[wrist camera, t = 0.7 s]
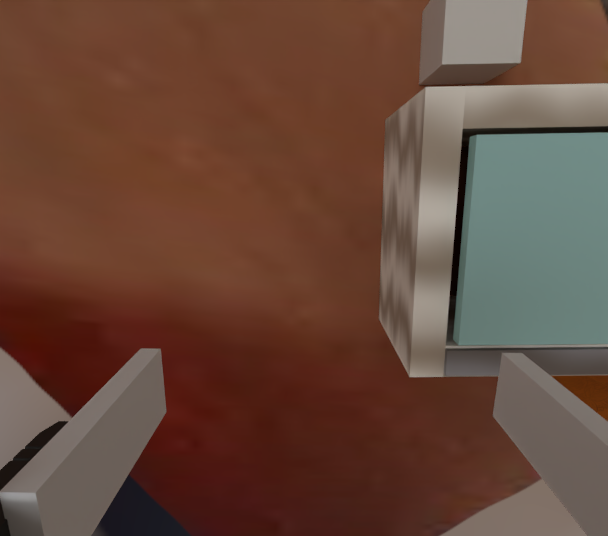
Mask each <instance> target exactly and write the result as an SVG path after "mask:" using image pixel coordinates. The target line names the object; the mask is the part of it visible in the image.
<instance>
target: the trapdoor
mask: <svg viewBox="0 0 608 536" xmlns="http://www.w3.org/2000/svg"><path fill="white" fill-rule="evenodd" d="M453 340H454V341H455V342H456V343H457V344H458V345H549V344H608V132H605V133H547V134H490V135H474V136H471V137H470V141H469V153H468V165H467V177H466V189H465V201H464V213H463V225H462V237H461V249H460V261H459V273H458V285H457V297H456V309H455V321H454V334H453Z"/></svg>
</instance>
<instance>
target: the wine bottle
mask: <svg viewBox="0 0 608 536" xmlns="http://www.w3.org/2000/svg"><path fill="white" fill-rule="evenodd" d="M551 377H553V378H554V379H555V380H556V381H558V382H559V383H560V384H561V385H563V386H564V387H565V388H566V389H568V390H569V391H570V392H571V393H573V394H574V395H575V396H576V397H578V398H579V399H580V400H581V401H583V402H584V403H585V404H586V405H588V406H589V407H590V408H591V409H593V410H594V411H595V412H596V413H598V414H599V415H600V416H601V417H603V418H604V419H605V420H606V421H608V375H586V376H551Z"/></svg>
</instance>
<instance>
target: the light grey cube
mask: <svg viewBox="0 0 608 536" xmlns="http://www.w3.org/2000/svg"><path fill="white" fill-rule="evenodd" d="M526 7H527V0H430V1H429V3H428V4H427V6H426V7H425V9H424V10H423V14H422V34H421V53H420V73H419V85H441V84H484V83H486V82H488V81H490V80H491V79H493V78H495V77H497V76H498V75H500V74H502V73H504V72H505V71H507V70H509V69H511V68H512V67H514V66H516V65H518V64H519V63H521V54H522V44H523V35H524V26H525V17H526Z"/></svg>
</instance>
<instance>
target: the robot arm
mask: <svg viewBox="0 0 608 536" xmlns="http://www.w3.org/2000/svg"><path fill="white" fill-rule="evenodd" d="M165 413H166V402H165V391H164V380H163V369H162V358H161V349H140V350H139V351H138V352H137V353H136V354H135V355H134V356H133V357H132V358H131V359H130V360H129V361H128V362H127V363H126V364H125V365H124V366H123V367H122V368H121V369H120V370H119V371H118V372H117V373H116V374H115V375H114V376H113V377H112V378H111V379H110V380H109V381H108V382H107V383H106V384H105V385H104V386H103V387H102V388H101V389H100V390H99V391H98V392H97V393H96V394H95V396H94V397H93V398H92V399H91V400H90V401H89V402H88V403H87V404H86V405H85V406H84V407H83V408H82V409H81V410H80V411H79V412H78V413H77V414H76V415H75V416H74V417H73V418H72V419H71V420H70V421H69V422H65V421H59V422H57V423H55V424H54V425H52V426H51V427H49V428H47V429H45V430H44V431H42V432H41V433H39V434H38V435H37V436H36V437H35V438H34V439H33V440H32V441H31V442H30V443H29V444H28V445H26V447H25V449H22V450H21V451H20V452H19V453H18V454H17V455H16V456H15V457H14V458H13V461H10V462H8V464H7V465H5V466H4V467H3V468H2V469H1V470H0V536H91V535H92V533H93V532H94V530H95V528H96V527H97V525H98V523H99V522H100V520H101V518H102V517H103V515H104V514H105V512H106V510H107V509H108V507H109V505H110V504H111V502H112V500H113V499H114V497H115V495H116V494H117V492H118V490H119V489H120V487H121V485H122V484H123V482H124V481H125V479H126V477H127V476H128V474H129V472H130V471H131V469H132V467H133V466H134V464H135V463H136V461H137V459H138V458H139V456H140V454H141V453H142V451H143V449H144V448H145V446H146V444H147V443H148V441H149V440H150V438H151V436H152V435H153V433H154V431H155V430H156V428H157V426H158V425H159V423H160V421H161V420H162V418H163V417H164V415H165ZM493 417H494V418H495V419H496V421H497V422H498V423H499V424H500V426H501V427H502V428H503V429H504V431H505V432H506V433H507V435H508V436H509V437H510V438H511V440H512V441H513V442H514V443H515V445H516V446H517V447H518V448H519V450H520V451H521V452H522V454H523V455H524V456H525V457H526V459H527V460H528V461H529V462H530V464H531V465H532V466H533V467H534V469H535V470H536V471H537V472H538V474H539V475H540V476H541V478H542V479H543V480H544V481H545V483H546V484H547V485H548V486H549V488H550V489H551V490H552V491H553V493H554V494H555V495H556V497H557V498H558V499H559V500H560V502H561V503H562V504H563V505H564V507H565V508H566V509H567V510H568V512H569V513H570V514H571V516H572V517H573V518H574V519H575V521H576V522H577V523H578V524H579V525H580V527H581V528H582V529H583V531H584V532H585V533H586V534H587V536H608V421H606V420H605V419H604V418H603V417H601V416H600V415H599V414H598V413H596V412H595V411H594V410H593V409H591V408H590V407H589V406H588V405H586V404H585V403H584V402H583V401H581V400H580V399H579V398H578V397H576V396H575V395H574V394H573V393H571V392H570V391H569V390H568V389H566V388H565V387H564V386H563V385H561V384H560V383H559V382H558V381H556V380H555V379H554V378H553V377H551V376H550V375H549V374H548V373H546V372H545V371H544V370H543V369H541V368H540V367H539V366H538V365H536V364H535V363H534V362H533V361H531V360H530V359H529V358H528V357H526V356H525V355H524V354H523V353H502V357H501V363H500V370H499V377H498V384H497V390H496V397H495V404H494V410H493Z"/></svg>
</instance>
